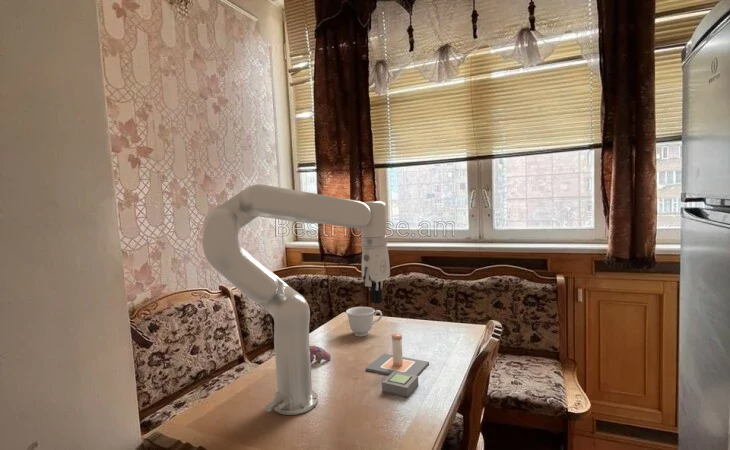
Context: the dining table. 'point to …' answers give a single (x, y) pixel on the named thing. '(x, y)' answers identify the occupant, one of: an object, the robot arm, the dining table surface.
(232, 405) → the dining table surface
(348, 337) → the dining table surface
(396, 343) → the marker
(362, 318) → the teacup
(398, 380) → the button
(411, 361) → the picture board
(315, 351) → the video game controller
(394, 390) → the button housing
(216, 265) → the robot arm
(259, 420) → the dining table surface
